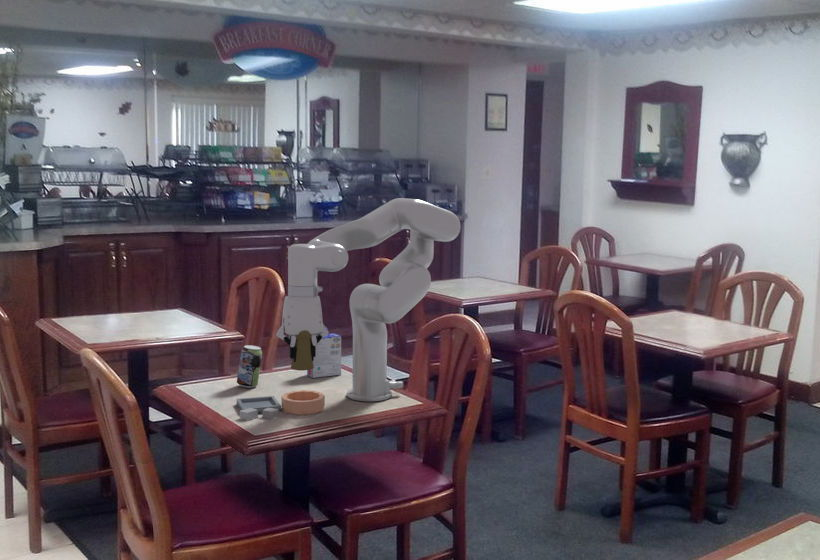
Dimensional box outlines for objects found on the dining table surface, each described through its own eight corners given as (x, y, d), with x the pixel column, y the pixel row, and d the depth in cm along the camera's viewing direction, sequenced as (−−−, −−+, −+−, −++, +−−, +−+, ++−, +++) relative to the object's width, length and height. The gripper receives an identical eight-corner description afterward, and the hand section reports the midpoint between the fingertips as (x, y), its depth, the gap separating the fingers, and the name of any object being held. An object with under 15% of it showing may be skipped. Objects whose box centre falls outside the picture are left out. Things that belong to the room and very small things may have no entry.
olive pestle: (304, 371, 224) (304, 329, 222) (286, 368, 227) (286, 327, 225) (318, 367, 229) (318, 326, 228) (300, 363, 232) (300, 323, 231)
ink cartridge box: (335, 371, 270) (335, 325, 268) (342, 375, 266) (342, 328, 264) (305, 374, 266) (305, 328, 264) (312, 378, 261) (312, 331, 259)
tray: (273, 401, 236) (273, 395, 236) (281, 411, 227) (281, 405, 227) (236, 404, 233) (236, 398, 233) (242, 414, 224) (242, 409, 223)
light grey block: (250, 415, 223) (250, 407, 223) (257, 418, 222) (257, 409, 222) (239, 419, 221) (239, 410, 220) (247, 421, 219) (247, 412, 219)
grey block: (278, 416, 223) (278, 409, 223) (272, 419, 221) (272, 411, 221) (268, 415, 224) (268, 407, 224) (262, 417, 222) (262, 410, 222)
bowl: (318, 401, 237) (318, 389, 236) (328, 412, 226) (328, 399, 226) (278, 404, 233) (278, 392, 232) (287, 416, 223) (287, 403, 222)
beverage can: (234, 385, 252) (233, 344, 251) (259, 382, 255) (258, 342, 254) (239, 390, 247) (239, 349, 245) (265, 388, 250) (264, 347, 248)
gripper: (330, 288, 232) (329, 355, 234) (268, 290, 226) (268, 359, 228) (337, 292, 225) (337, 361, 227) (273, 294, 219) (274, 365, 221)
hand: (302, 359), depth 228 cm, fingers closed on olive pestle, 3 cm apart
